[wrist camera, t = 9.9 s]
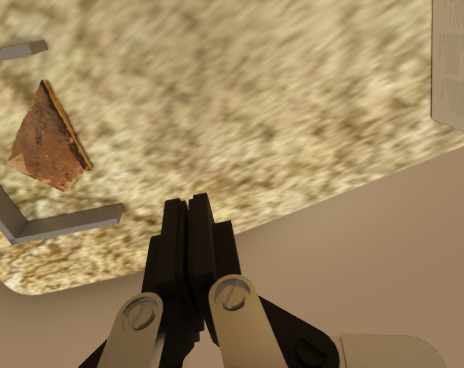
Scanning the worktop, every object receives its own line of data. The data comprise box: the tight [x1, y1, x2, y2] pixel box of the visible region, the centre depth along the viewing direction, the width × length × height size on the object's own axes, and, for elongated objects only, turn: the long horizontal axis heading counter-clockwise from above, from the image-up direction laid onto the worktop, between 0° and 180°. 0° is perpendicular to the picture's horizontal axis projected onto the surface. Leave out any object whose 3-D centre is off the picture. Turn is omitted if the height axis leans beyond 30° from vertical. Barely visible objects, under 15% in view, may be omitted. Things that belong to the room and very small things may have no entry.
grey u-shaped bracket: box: [0, 40, 124, 245], centre depth 29 cm, size 20×13×3 cm, turn 9°
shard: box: [8, 80, 93, 192], centre depth 30 cm, size 11×8×2 cm
